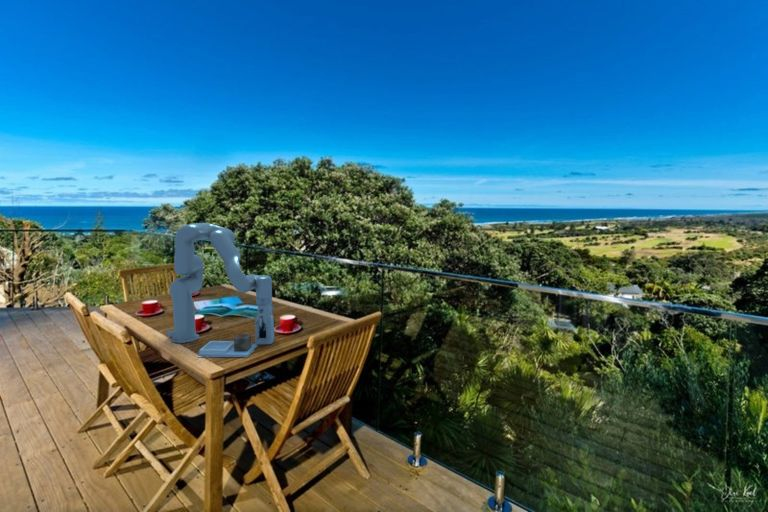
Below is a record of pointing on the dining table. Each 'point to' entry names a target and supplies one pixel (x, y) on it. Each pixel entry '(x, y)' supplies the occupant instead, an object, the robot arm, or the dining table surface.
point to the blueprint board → (224, 349)
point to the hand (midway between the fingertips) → (264, 335)
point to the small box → (269, 332)
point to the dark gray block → (242, 342)
